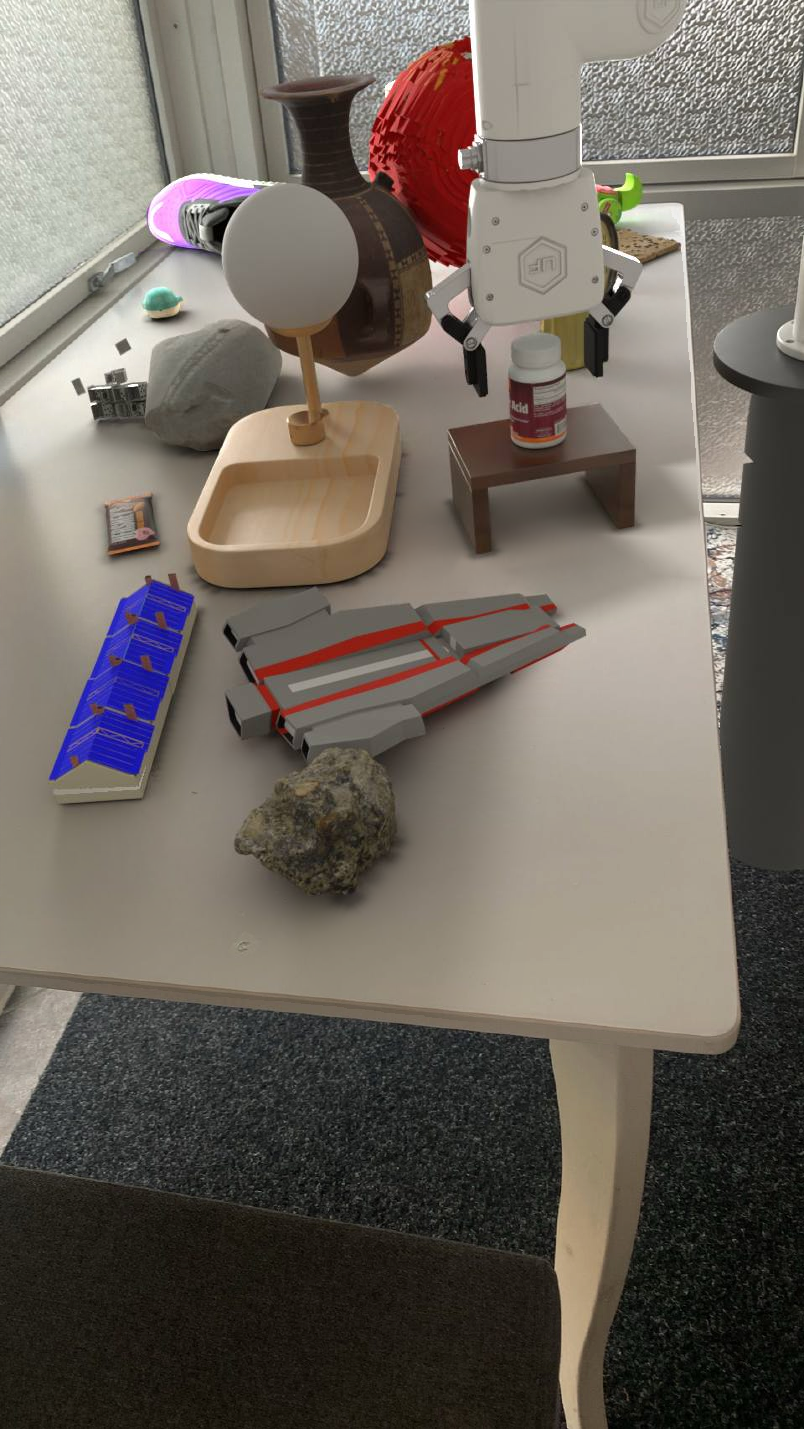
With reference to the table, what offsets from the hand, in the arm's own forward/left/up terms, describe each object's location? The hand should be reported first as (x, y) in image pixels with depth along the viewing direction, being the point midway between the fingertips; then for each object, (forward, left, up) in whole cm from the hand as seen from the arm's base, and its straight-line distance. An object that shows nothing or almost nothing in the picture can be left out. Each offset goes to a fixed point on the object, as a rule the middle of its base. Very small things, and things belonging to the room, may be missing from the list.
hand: (537, 381), depth 92 cm
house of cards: (+40, -38, -8) cm, 55 cm away
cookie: (-30, -68, -13) cm, 75 cm away
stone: (+35, -37, -8) cm, 52 cm away
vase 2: (-12, -33, -12) cm, 38 cm away
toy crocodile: (-27, -82, -12) cm, 88 cm away
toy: (-6, -65, +3) cm, 65 cm away
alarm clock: (-17, -46, -12) cm, 50 cm away
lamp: (+20, -11, -12) cm, 26 cm away
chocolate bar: (+37, -11, -12) cm, 41 cm away
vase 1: (+11, -39, -12) cm, 43 cm away
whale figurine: (+34, -74, -12) cm, 82 cm away
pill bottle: (0, 0, -5) cm, 5 cm away
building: (+36, +17, -12) cm, 42 cm away
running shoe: (+21, -104, -7) cm, 106 cm away
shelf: (0, 0, -12) cm, 12 cm away
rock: (+26, +42, -10) cm, 50 cm away
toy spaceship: (+15, +21, -8) cm, 27 cm away
